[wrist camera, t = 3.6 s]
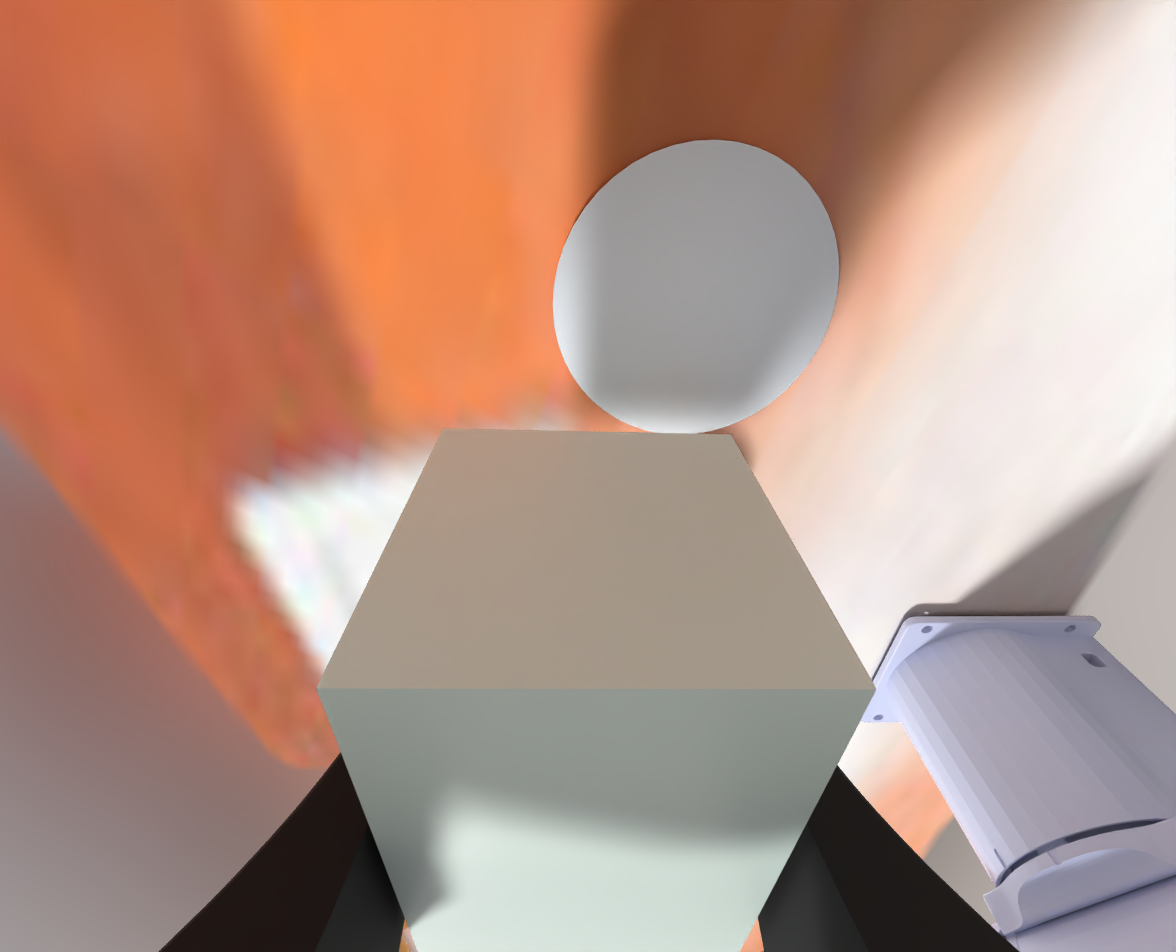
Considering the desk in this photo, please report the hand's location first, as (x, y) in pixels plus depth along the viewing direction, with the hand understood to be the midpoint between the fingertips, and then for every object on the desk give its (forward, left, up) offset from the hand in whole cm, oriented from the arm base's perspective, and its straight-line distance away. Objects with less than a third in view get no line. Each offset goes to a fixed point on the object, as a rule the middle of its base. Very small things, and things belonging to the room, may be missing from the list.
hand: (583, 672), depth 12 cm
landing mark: (-4, -6, -9) cm, 12 cm away
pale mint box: (0, 0, -2) cm, 2 cm away
